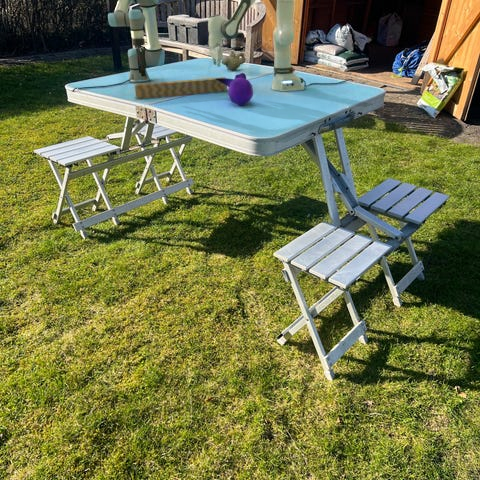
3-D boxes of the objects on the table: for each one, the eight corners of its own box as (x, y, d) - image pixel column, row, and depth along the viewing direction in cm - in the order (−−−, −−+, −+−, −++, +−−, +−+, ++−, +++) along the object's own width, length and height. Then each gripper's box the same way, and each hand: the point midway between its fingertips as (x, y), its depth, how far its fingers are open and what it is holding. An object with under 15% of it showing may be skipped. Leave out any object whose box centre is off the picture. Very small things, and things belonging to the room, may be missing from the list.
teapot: (225, 72, 363) (224, 52, 355) (218, 70, 371) (218, 50, 364) (248, 69, 372) (247, 50, 364) (241, 67, 381) (240, 48, 373)
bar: (136, 99, 288) (134, 85, 284) (135, 97, 293) (134, 84, 289) (227, 91, 303) (226, 78, 299) (224, 89, 308) (224, 77, 304)
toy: (238, 95, 290) (253, 110, 269) (212, 91, 282) (225, 106, 262) (244, 71, 282) (260, 84, 261) (218, 65, 274) (232, 78, 254)
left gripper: (146, 39, 265) (150, 77, 276) (141, 35, 286) (145, 70, 296) (133, 40, 263) (138, 78, 274) (129, 36, 284) (134, 71, 294)
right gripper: (224, 44, 281) (225, 67, 288) (216, 40, 298) (217, 62, 305) (215, 45, 280) (216, 68, 287) (207, 41, 296) (208, 63, 303)
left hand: (142, 74), depth 285 cm, fingers open, 13 cm apart
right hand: (216, 65), depth 296 cm, fingers open, 8 cm apart
